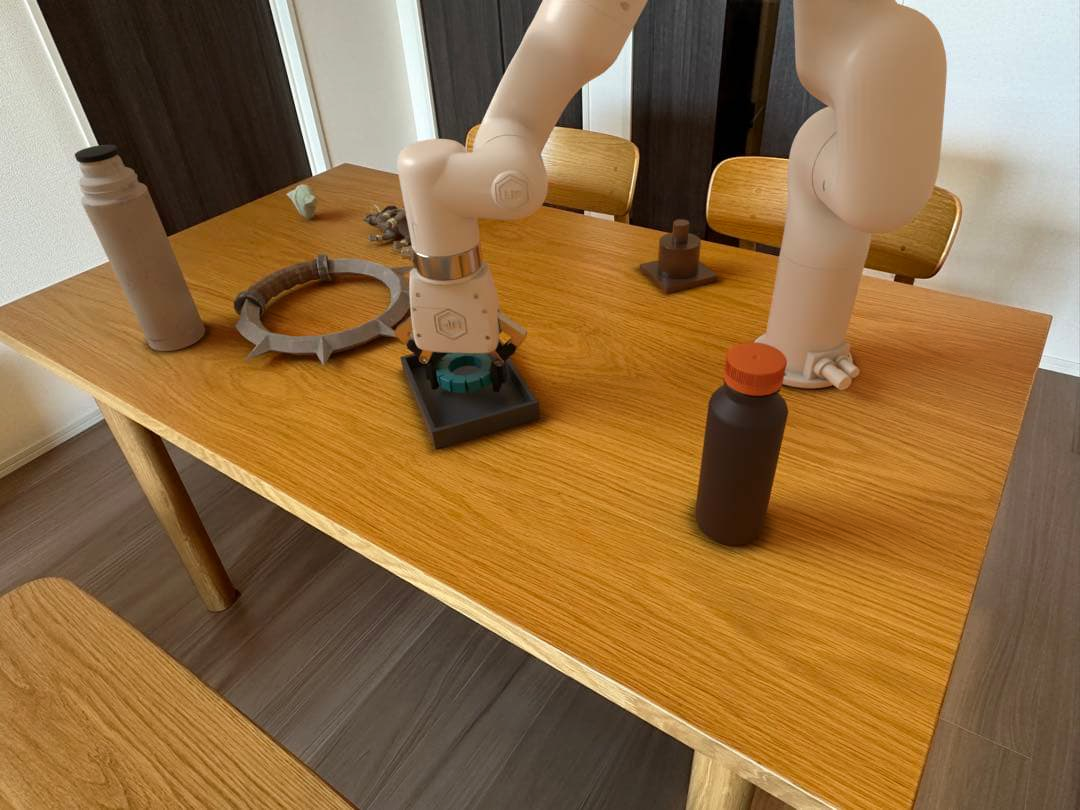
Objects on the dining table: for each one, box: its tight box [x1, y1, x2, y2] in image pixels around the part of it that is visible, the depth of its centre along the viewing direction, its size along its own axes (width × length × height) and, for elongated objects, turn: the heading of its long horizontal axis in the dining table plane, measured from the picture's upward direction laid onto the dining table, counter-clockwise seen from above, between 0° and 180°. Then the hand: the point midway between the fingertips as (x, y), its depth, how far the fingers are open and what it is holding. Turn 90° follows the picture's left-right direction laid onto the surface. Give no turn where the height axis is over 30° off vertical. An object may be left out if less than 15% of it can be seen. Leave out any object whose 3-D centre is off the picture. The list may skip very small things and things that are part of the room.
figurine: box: [362, 203, 411, 250], centre depth 129 cm, size 20×6×17 cm
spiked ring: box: [233, 253, 414, 367], centre depth 106 cm, size 33×4×30 cm
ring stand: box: [639, 218, 718, 295], centre depth 109 cm, size 9×9×9 cm
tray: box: [399, 352, 541, 450], centre depth 89 cm, size 17×13×3 cm
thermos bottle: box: [74, 144, 206, 352], centre depth 96 cm, size 8×8×28 cm
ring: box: [435, 353, 492, 393], centre depth 87 cm, size 7×7×2 cm
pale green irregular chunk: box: [286, 183, 318, 220], centre depth 136 cm, size 8×4×7 cm, turn 52°
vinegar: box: [694, 341, 789, 546], centre depth 64 cm, size 7×7×20 cm
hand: (467, 383), depth 88 cm, fingers closed on ring, 7 cm apart
